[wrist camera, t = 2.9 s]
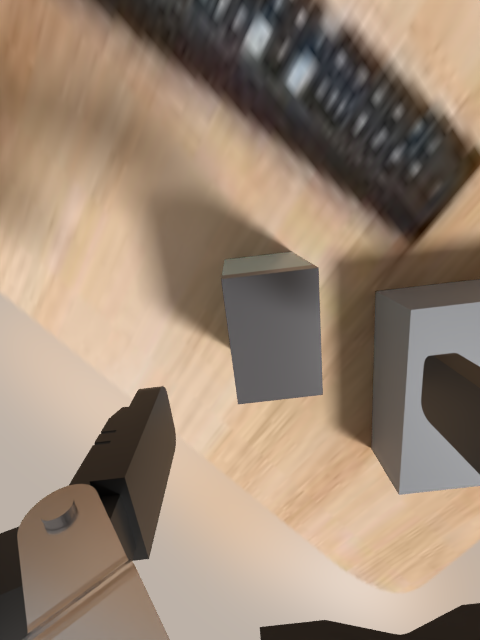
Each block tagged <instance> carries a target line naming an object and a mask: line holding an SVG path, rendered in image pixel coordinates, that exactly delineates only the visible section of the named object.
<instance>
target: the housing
mask: <svg viewBox="0 0 480 640" xmlns="http://www.w3.org/2000/svg"><path fill="white" fill-rule="evenodd" d="M221 281H222V288H223V296H224V303H225V311H226V318H227V325H228V333H229V340H230V348H231V355H232V362H233V370H234V377H235V385H236V392H237V399H238V404H245V403H254V402H263V401H271V400H280V399H289V398H298V397H307V396H316V395H323V388H322V358H321V329H320V299H319V269H318V267H317V266H315V265H313V264H312V263H310V262H308V261H307V260H305V259H303V258H302V257H300V256H298V255H297V254H295V253H293V252H284V253H275V254H267V255H258V256H250V257H242V258H233V259H225V260H224V265H223V271H222V278H221Z"/></svg>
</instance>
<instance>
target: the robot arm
mask: <svg viewBox="0 0 480 640" xmlns="http://www.w3.org/2000/svg"><path fill="white" fill-rule="evenodd" d="M421 406H422V410H423V413H424V415H425V417H426V419H427V420H428V421H429V423H430V424H431V425H432V426H433V427H434V428H435V429H436V430H437V431H438V432H439V433H440V434H441V435H442V436H443V437H444V438H445V439H446V440H447V441H448V442H449V443H450V444H451V445H452V446H453V447H454V448H455V449H456V451H457V452H458V453H459V454H460V455H461V456H462V457H463V458H464V459H465V460H466V461H467V462H468V463H469V464H470V465H471V466H472V467H473V468H474V469H475V470H476V471H477V472H478V473H479V474H480V367H479V366H478V365H476V364H474V363H473V362H471V361H469V360H468V359H466V358H465V357H463V356H461V355H460V354H458V353H448V354H440V355H431V356H428V357H427V358H426V359H425V361H424V368H423V381H422V394H421ZM175 445H176V434H175V427H174V423H173V418H172V413H171V409H170V404H169V400H168V395H167V391H166V389H165V387H163V386H162V387H153V388H145V389H139V390H138V391H137V393H136V395H135V397H134V399H133V400H132V402H131V404H130V406H129V407H123V408H121V409H120V410H119V411H117V412H116V413H115V414H114V415H113V416H112V417H111V418H109V419H108V421H107V423H106V425H105V426H104V428H103V429H102V431H101V434H100V435H99V436H98V438H97V439H96V441H95V445H93V446H92V448H91V450H90V451H89V453H88V454H87V456H86V458H85V459H84V461H83V463H82V464H81V466H80V468H79V469H78V471H77V473H76V474H75V476H74V478H73V479H72V481H71V483H70V484H69V486H66V487H63V488H61V489H58V490H56V491H54V492H52V493H51V494H49V495H47V496H46V497H45V498H43V499H42V500H40V501H39V502H38V503H37V504H36V505H35V506H34V507H33V508H32V509H31V510H30V511H29V512H28V513H27V515H26V516H25V517H24V519H23V520H22V522H21V524H20V526H19V527H17V528H14V529H11V530H9V531H6V532H4V533H1V534H0V640H170V639H169V637H168V635H167V633H166V631H165V629H164V627H163V624H162V622H161V620H160V618H159V616H158V614H157V612H156V610H155V607H154V605H153V603H152V601H151V599H150V597H149V595H148V593H147V590H146V588H145V586H144V584H143V582H142V580H141V578H140V576H139V574H138V572H137V569H136V567H135V565H134V563H133V562H132V561H133V560H142V559H149V556H150V552H151V548H152V543H153V539H154V535H155V530H156V527H157V523H158V518H159V514H160V510H161V506H162V502H163V497H164V493H165V489H166V485H167V481H168V476H169V473H170V468H171V464H172V460H173V456H174V452H175ZM260 635H261V640H480V603H477V604H468V605H461V606H460V607H458V608H455V609H454V610H452V611H450V612H448V613H446V614H444V615H442V616H440V617H438V618H436V619H435V620H433V621H431V622H429V623H427V624H425V625H423V626H421V627H419V628H417V629H415V630H413V631H412V632H410V633H407V634H403V635H397V634H391V633H386V632H381V631H376V630H372V629H367V628H361V627H356V626H352V625H347V624H342V623H337V622H332V621H327V620H321V621H312V622H303V623H294V624H284V625H275V626H266V627H260Z"/></svg>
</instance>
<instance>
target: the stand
mask: <svg viewBox="0 0 480 640" xmlns="http://www.w3.org/2000/svg"><path fill="white" fill-rule="evenodd" d="M448 353H458V354H460V355H461V356H463V357H465V358H466V359H468V360H469V361H471V362H473V363H474V364H476V365H478V366H479V367H480V279H476V280H468V281H459V282H451V283H442V284H433V285H425V286H416V287H408V288H399V289H391V290H382V291H376V297H375V334H374V372H373V410H372V448H371V449H372V450H373V452H374V454H375V455H376V457H377V459H378V460H379V462H380V464H381V465H382V467H383V469H384V471H385V472H386V474H387V476H388V477H389V479H390V481H391V482H392V484H393V486H394V487H395V489H396V491H397V492H398V494H399V495H401V494H410V493H419V492H428V491H437V490H446V489H455V488H465V487H474V486H480V474H479V473H478V472H477V471H476V470H475V469H474V468H473V467H472V466H471V465H470V464H469V463H468V462H467V461H466V460H465V459H464V458H463V457H462V456H461V455H460V454H459V453H458V452H457V451H456V449H455V448H454V447H453V446H452V445H451V444H450V443H449V442H448V441H447V440H446V439H445V438H444V437H443V436H442V435H441V434H440V433H439V432H438V431H437V430H436V429H435V428H434V427H433V426H432V425H431V424H430V423H429V421H428V420H427V419H426V417H425V415H424V413H423V410H422V406H421V394H422V381H423V368H424V361H425V359H426V358H427V357H428V356H431V355H440V354H448Z"/></svg>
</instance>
